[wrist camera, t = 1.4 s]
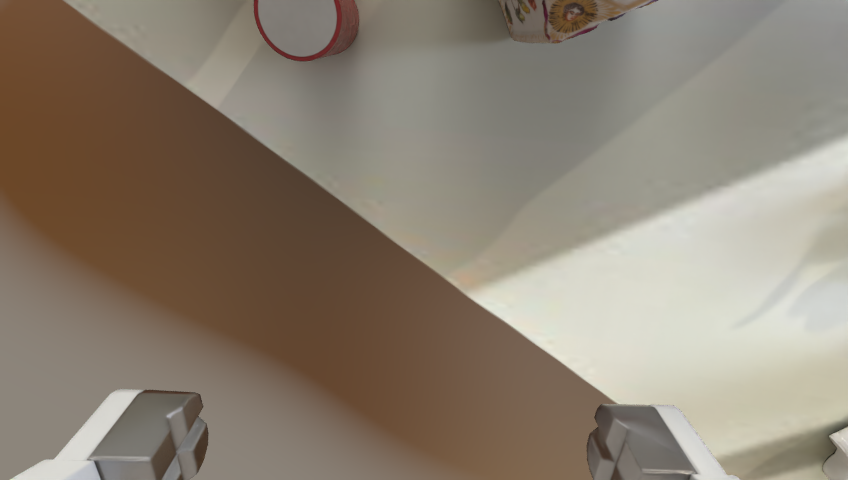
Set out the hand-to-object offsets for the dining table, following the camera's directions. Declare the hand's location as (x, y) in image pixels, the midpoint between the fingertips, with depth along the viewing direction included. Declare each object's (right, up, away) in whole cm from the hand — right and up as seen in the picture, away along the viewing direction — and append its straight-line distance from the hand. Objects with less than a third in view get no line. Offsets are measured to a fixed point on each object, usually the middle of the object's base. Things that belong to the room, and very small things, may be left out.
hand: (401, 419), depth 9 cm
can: (-8, +23, +29) cm, 38 cm away
